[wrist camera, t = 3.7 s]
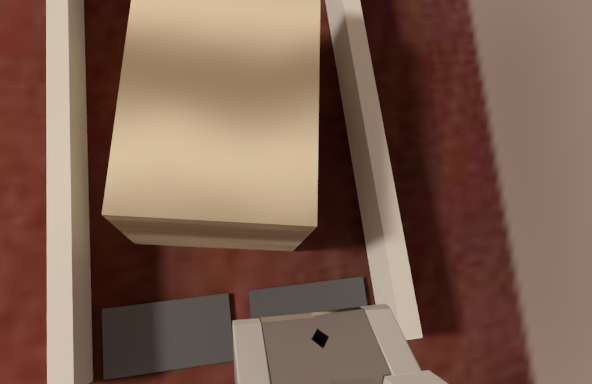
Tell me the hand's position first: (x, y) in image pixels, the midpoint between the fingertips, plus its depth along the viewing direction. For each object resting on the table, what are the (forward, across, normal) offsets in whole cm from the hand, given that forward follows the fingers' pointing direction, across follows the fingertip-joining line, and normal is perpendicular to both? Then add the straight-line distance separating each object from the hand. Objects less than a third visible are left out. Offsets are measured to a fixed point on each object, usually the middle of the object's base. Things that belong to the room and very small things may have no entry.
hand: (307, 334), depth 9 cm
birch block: (+18, +1, +4) cm, 18 cm away
